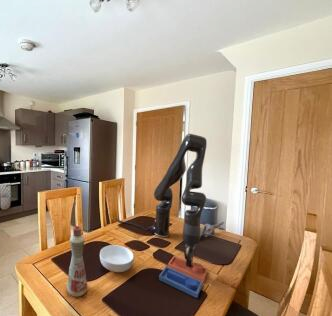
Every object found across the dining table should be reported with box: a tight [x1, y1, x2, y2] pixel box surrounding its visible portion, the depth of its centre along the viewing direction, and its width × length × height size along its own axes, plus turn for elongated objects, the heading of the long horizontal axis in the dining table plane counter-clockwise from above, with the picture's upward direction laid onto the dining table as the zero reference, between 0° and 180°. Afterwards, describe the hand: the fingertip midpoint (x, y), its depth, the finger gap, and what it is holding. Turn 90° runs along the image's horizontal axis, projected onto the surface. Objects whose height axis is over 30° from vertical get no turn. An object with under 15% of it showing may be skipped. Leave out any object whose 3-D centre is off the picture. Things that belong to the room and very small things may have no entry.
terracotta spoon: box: [175, 256, 204, 273], centre depth 97 cm, size 12×5×3 cm, turn 51°
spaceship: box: [200, 221, 225, 238], centre depth 136 cm, size 8×35×8 cm
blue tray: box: [158, 266, 203, 299], centre depth 89 cm, size 16×9×2 cm, turn 50°
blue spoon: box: [167, 270, 197, 291], centre depth 88 cm, size 12×5×3 cm, turn 50°
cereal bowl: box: [99, 244, 135, 273], centre depth 99 cm, size 17×17×7 cm
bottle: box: [66, 225, 88, 298], centre depth 82 cm, size 9×9×28 cm
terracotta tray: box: [167, 255, 209, 283], centre depth 98 cm, size 16×9×2 cm, turn 50°
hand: (189, 265), depth 97 cm, fingers closed on terracotta spoon, 2 cm apart
